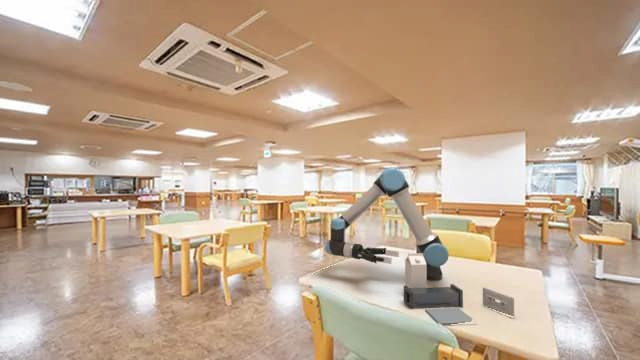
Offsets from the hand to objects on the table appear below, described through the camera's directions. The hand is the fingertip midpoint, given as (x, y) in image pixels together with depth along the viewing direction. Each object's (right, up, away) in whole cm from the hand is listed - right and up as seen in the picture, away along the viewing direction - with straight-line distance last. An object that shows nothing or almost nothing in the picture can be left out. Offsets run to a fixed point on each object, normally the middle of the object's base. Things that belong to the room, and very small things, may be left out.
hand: (395, 257), depth 128 cm
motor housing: (+12, -16, -15) cm, 25 cm away
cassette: (+35, -16, -21) cm, 44 cm away
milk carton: (+8, -16, -5) cm, 19 cm away
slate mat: (+14, -15, -26) cm, 33 cm away
